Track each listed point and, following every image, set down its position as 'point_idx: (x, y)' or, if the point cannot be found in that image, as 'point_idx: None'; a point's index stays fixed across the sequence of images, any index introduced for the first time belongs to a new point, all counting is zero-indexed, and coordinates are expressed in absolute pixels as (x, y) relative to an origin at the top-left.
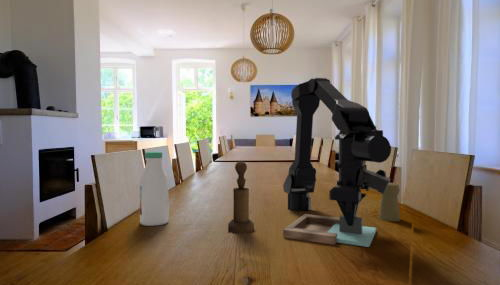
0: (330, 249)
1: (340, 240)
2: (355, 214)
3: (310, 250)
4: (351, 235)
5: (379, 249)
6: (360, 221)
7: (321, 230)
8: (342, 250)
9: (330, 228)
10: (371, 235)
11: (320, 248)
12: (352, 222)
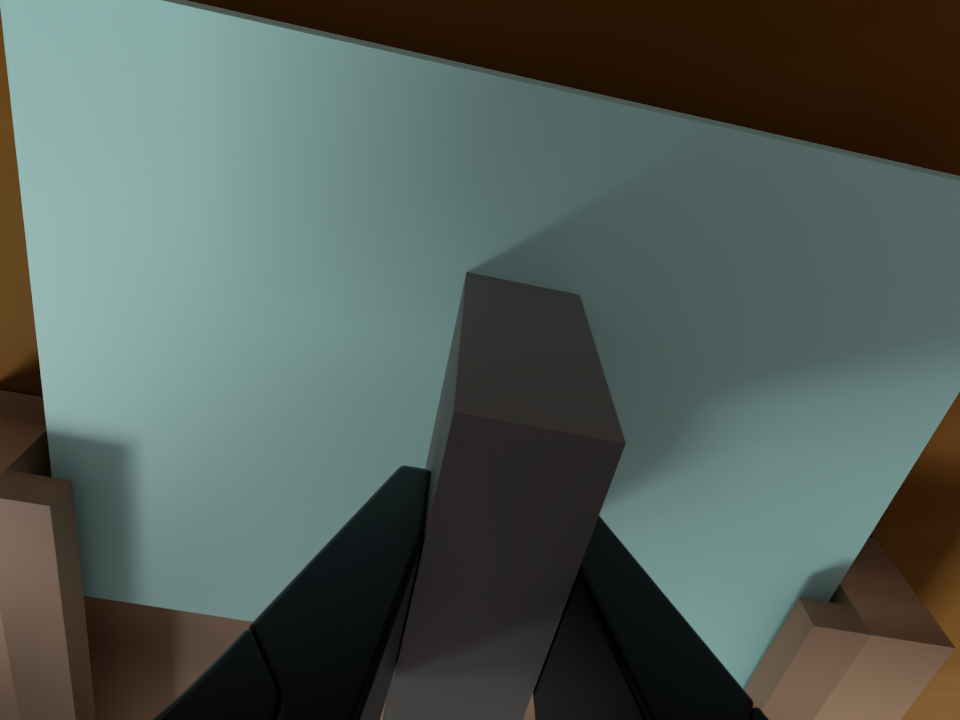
0: (900, 569)
1: (849, 540)
2: (404, 582)
3: (924, 701)
4: (665, 429)
5: (915, 6)
6: (614, 425)
7: None
8: (937, 470)
9: None
10: (613, 125)
11: None
12: (610, 540)
